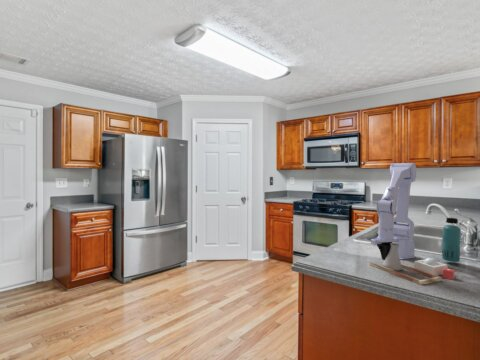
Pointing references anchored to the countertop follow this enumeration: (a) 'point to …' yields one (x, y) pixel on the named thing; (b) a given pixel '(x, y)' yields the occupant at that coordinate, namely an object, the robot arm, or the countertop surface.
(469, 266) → the countertop surface
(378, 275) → the countertop surface
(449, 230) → the beverage bottle
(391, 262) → the flask
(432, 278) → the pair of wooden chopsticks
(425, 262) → the dome
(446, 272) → the red die
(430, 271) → the dome housing
